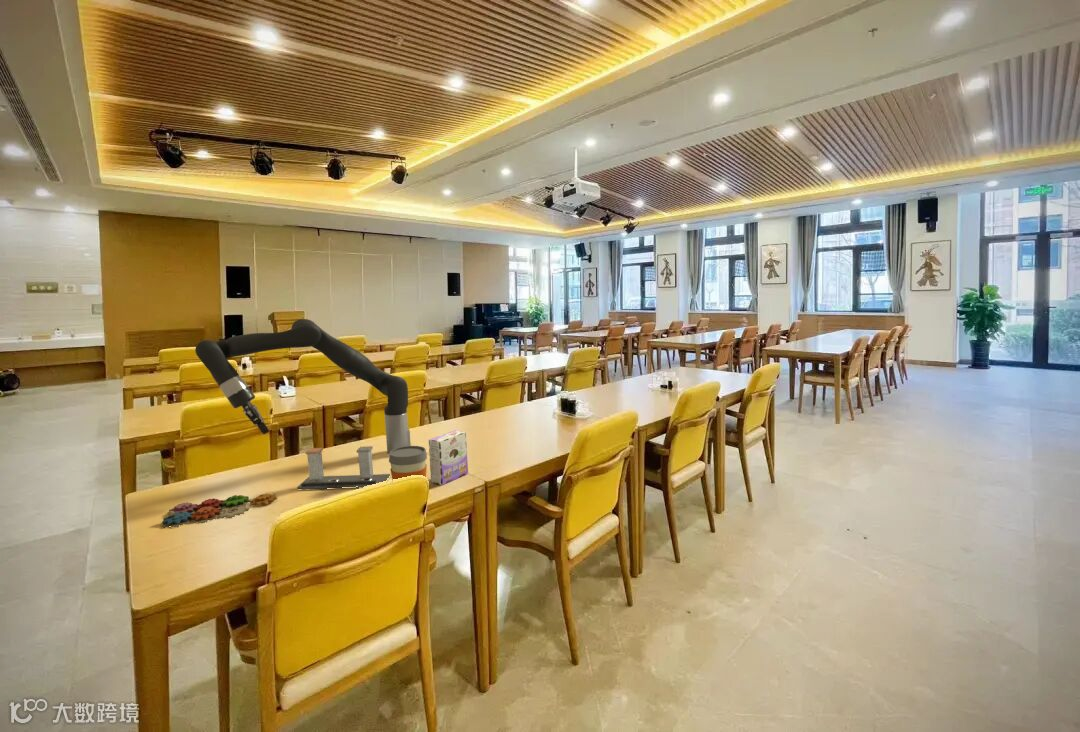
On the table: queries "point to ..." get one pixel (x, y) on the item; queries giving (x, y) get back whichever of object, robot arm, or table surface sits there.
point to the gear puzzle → (213, 509)
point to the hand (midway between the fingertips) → (266, 432)
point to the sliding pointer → (315, 464)
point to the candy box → (448, 457)
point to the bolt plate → (350, 480)
